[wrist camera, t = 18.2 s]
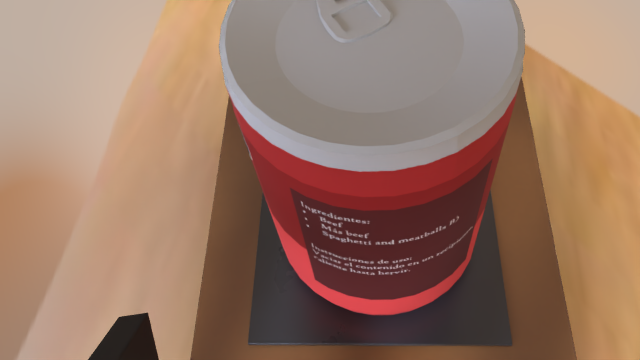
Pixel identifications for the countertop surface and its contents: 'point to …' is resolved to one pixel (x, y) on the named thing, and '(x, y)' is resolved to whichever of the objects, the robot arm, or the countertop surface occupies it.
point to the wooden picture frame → (385, 330)
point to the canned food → (374, 134)
